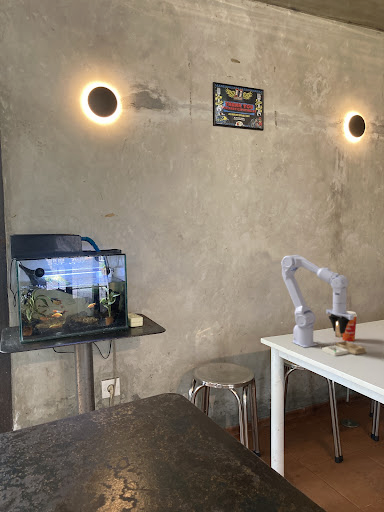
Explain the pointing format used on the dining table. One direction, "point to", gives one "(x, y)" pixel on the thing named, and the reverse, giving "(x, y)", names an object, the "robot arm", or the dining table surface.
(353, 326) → the paper cup
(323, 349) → the white square frame
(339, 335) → the battery cell
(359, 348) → the wooden trough
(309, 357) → the dining table surface
